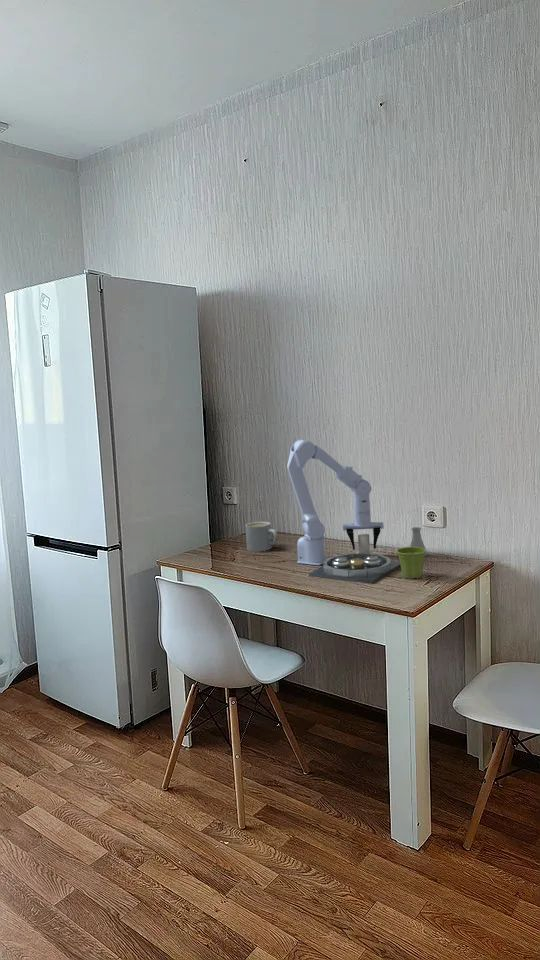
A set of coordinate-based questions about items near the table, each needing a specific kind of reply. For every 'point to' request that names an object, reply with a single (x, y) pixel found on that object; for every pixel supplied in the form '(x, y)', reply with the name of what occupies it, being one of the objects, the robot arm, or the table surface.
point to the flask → (417, 539)
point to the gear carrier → (356, 567)
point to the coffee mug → (259, 536)
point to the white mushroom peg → (364, 544)
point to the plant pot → (411, 561)
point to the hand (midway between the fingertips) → (364, 548)
